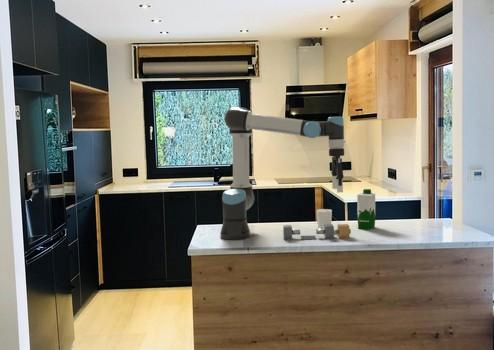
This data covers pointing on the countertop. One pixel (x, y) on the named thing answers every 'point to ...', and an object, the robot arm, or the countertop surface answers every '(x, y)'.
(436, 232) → the countertop surface
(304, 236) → the pad
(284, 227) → the bearing
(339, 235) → the coupler
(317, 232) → the grey knob with stem
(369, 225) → the milk carton
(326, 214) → the white cup
